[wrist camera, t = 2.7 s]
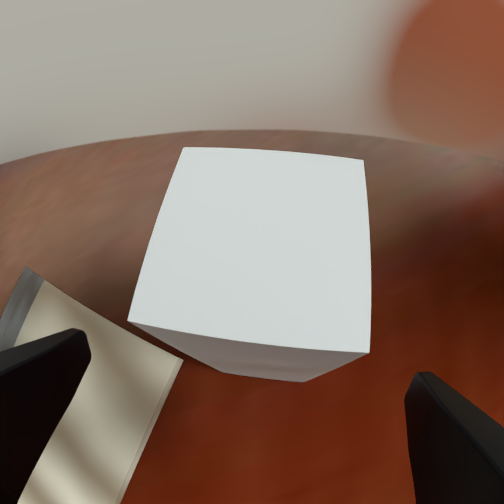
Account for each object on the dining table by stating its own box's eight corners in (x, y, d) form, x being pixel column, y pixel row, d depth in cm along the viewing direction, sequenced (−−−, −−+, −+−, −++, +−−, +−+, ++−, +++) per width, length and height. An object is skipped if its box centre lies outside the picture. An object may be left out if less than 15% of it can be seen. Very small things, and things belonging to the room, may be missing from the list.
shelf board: (96, 561, 9) (78, 572, 7) (-20, 454, 12) (-40, 453, 10) (183, 360, 16) (170, 353, 14) (43, 278, 19) (23, 264, 17)
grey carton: (303, 382, 16) (368, 352, 5) (222, 372, 16) (127, 320, 5) (311, 301, 18) (362, 151, 7) (236, 293, 18) (187, 139, 8)
